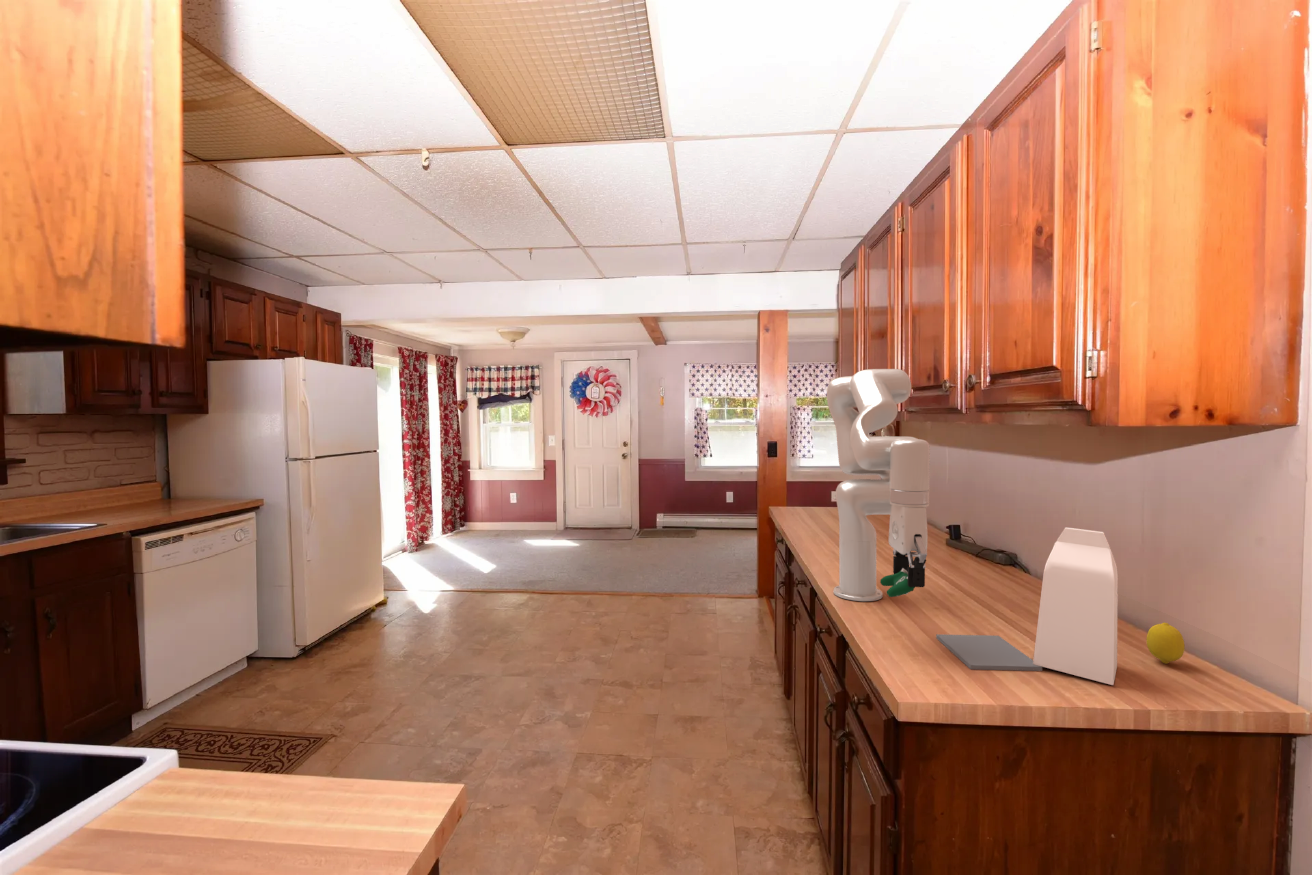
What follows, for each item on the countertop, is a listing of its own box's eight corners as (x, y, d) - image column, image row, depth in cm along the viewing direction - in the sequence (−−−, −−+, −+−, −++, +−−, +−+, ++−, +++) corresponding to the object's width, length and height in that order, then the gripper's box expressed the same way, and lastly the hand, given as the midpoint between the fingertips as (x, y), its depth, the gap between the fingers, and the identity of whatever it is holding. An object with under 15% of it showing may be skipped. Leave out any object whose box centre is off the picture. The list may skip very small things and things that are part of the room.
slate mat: (936, 637, 125) (936, 634, 125) (998, 639, 124) (998, 635, 124) (970, 669, 109) (970, 665, 109) (1042, 670, 108) (1042, 666, 108)
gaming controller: (899, 607, 117) (922, 588, 116) (885, 593, 117) (908, 574, 116) (890, 593, 126) (911, 575, 125) (877, 580, 126) (898, 562, 125)
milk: (1032, 663, 109) (1041, 528, 109) (1042, 647, 118) (1050, 522, 117) (1113, 685, 101) (1123, 539, 101) (1117, 666, 110) (1126, 531, 109)
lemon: (1139, 660, 113) (1140, 619, 112) (1156, 655, 115) (1157, 616, 115) (1173, 671, 108) (1174, 629, 107) (1190, 666, 110) (1191, 625, 109)
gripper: (878, 492, 129) (877, 568, 130) (905, 504, 112) (904, 593, 113) (912, 492, 129) (911, 569, 129) (945, 504, 111) (944, 593, 112)
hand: (908, 579), depth 121 cm, fingers closed on gaming controller, 8 cm apart
